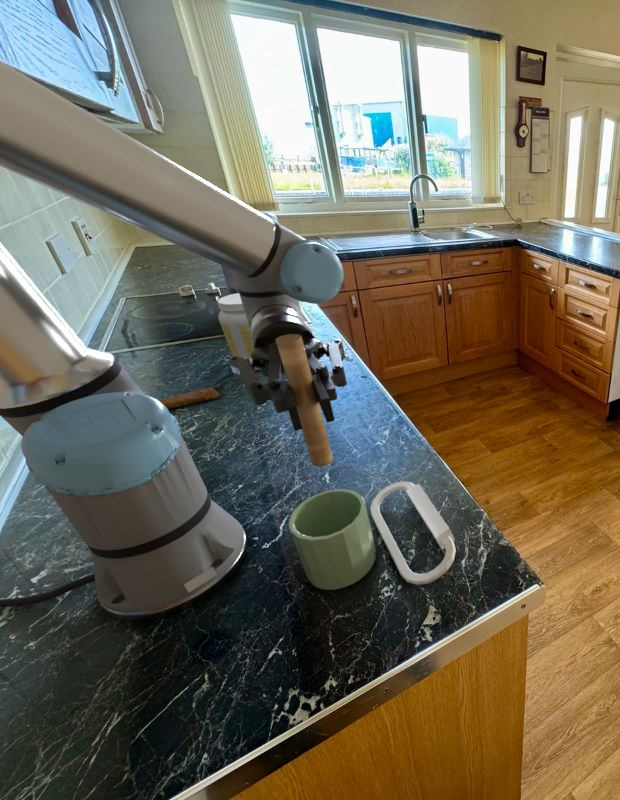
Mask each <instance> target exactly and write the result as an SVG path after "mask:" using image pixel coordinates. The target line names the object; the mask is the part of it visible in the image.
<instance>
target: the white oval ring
mask: <svg viewBox="0 0 620 800" xmlns="http://www.w3.org/2000/svg"><path fill="white" fill-rule="evenodd" d="M401 490H404V492H405V493H406V494H407V496H408V497H409V499H410V501H411V503H412V505H413V506H414V508H415V509H416V511H417V512H418V515H420V518H421V519H422V520H423V522H424V524H425V525H426V527H427V529H428V531H429V532H430V533H431V535H432V537H433V538H434V540H435V542H436V543H437V544H438V546H439V548H440V549H441V551H442V553H444V557H443V559H442V560H441V562H440V563H439V564H438V565H437V566H436V567H435V568H433V569H432V570H430V571H428V572H424V573H417V572H413V570H411V568H410V567H409V564H408V563H407V561H406V559H405V557H404V555H403V553H402V551H401V549H400V548H399V545H398V543H397V542H396V540H395V538H394V536H393V534H392V532H391V531H390V528H389V526H388V524H387V522H386V521H385V519H384V517H383V515H382V513H381V510H380V507H381V504H382V502H383V501H384V500H385V499H386V498H387V497H388V496H389V495H391V494H393V493H395V492H397V491H401ZM369 509H370V516H371V518H372V520H373V522H374V524H375V526H376V528H377V530H378V532H379V534H380V536H381V538H382V540H383V542H384V544H385V546H386V548H387V550H388V553H389V554H390V556H391V559H392V560H393V562H394V564H395V567H396V568H397V570H398V573H399V575H400V576H401V577H402V579H404V581H405V582H407V583H408V584H411V585H415V586H420V585H421V586H422V585H428V584H430V583H433V582H434V581H436V580H438V579H440V578H441V577H442V576H443V575H444V574H445V573H447V571H449V569H450V568H451V566H452V564H453V563H454V561H455V556H456V552H457V550H456V549H457V548H456V545H455V541H456V539H455V536H454V534H453V533H452V530H451V528H450V527H449V525H448V524H447V522H446V521H445V519H444V518H443V517H442V515H441V514H440V512H439V511H438V509H437V508H436V506H435V505H434V504H433V502H432V500H431V499H430V497H429V496H428V495H427V493H426V491H425V490H424V489H423V487H422V486H421V484H420V483H417V484H414V483H413V482H412V481H398V482H394V483H392V484H390V485H387V486H386V487H384V488H382V490H380V491H379V492H378V493H377V494H376V496H375V497H374V498H373V499H372V501H371V504H370V508H369ZM444 549H445V550H444Z"/></svg>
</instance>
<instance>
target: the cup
mask: <svg viewBox="0 0 620 800" xmlns="http://www.w3.org/2000/svg"><path fill="white" fill-rule="evenodd" d="M288 527H289V532H290V535H291V537H292V540H293V543H294V545H295V548H296V551H297V554H298V557H299V559H300V562H301V564H302V567H303V570H304V573H305V576H306V578H307V579H308V581H309V583H311V585H312V586H314V587H316V588H318V589H321V590H326V591H333V590H339V589H344V588H347V587H349V586H351V585H354V584H355V583H357V582H359V581H360V580H362V579H363V578H364V577H365V576H366V575H367V574H368V573H369V571H371V569H372V567H373V565H374V563H375V561H376V557H377V552H376V551H377V549H376V545H375V540H374V537H373V532H372V526H371V524H370V519H369V513H368V510H367V506H366V502H365V501H364V497H363V496H362V495H360V494H359V493H358V492H356V491H355V490H349V489H344V488H338V489H329V490H325V491H322V492H319V493H316V494H314V495H312V496H310V497H308V498H307V499H305V500H304V501H302V502H301V503H299V505H298V506H297V507H296V508H294V510H293V511H292V513H291V515H290V518H289V519H288Z"/></svg>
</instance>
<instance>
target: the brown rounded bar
mask: <svg viewBox="0 0 620 800" xmlns="http://www.w3.org/2000/svg"><path fill="white" fill-rule="evenodd" d="M220 396H221V395H220V393H219V392H218V391H217V390H216V389H214V388H213V387H205V388H200V389H197V390H193V391H190V392H184V393H182V394H177V395H173V396H169V397H166V398H162V399H157V400H158V401H160V402H161V403H162V404H164V405H165V407H166V408H167V409H168V410H171V409H175V408H180V407H183V406H190V405H192V404H197V403H203V402H205V401H209V400H211V401H212V400H214V399H218V398H219V397H220Z"/></svg>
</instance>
